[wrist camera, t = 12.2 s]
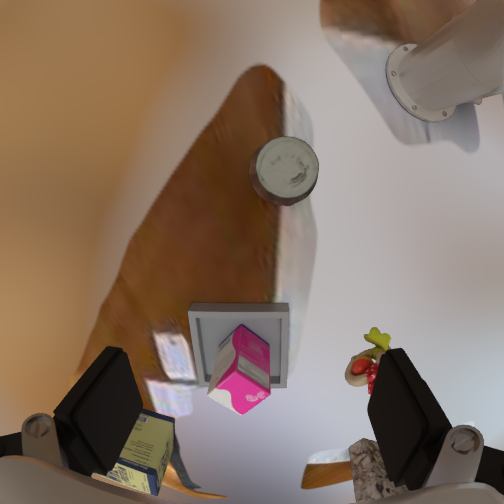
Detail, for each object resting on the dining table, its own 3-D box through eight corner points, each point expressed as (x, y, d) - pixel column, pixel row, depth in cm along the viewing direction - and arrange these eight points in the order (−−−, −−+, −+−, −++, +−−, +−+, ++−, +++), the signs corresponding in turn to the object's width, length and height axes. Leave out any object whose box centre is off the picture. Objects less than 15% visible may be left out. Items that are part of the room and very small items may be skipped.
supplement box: (247, 366, 44) (240, 417, 33) (217, 345, 43) (203, 394, 32) (271, 344, 42) (271, 395, 31) (241, 322, 42) (232, 370, 31)
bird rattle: (362, 360, 46) (405, 340, 40) (354, 413, 37) (405, 397, 32) (341, 340, 45) (386, 318, 40) (330, 396, 36) (385, 378, 31)
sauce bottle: (307, 195, 37) (345, 218, 18) (260, 202, 38) (250, 233, 19) (298, 146, 35) (329, 118, 16) (251, 153, 36) (231, 132, 17)
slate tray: (288, 302, 41) (289, 311, 39) (285, 377, 45) (286, 388, 42) (192, 302, 42) (187, 311, 40) (203, 375, 46) (199, 385, 43)
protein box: (175, 444, 53) (158, 497, 38) (113, 424, 53) (87, 470, 38) (176, 417, 50) (154, 476, 35) (107, 395, 50) (75, 445, 35)
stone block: (341, 451, 51) (354, 523, 31) (362, 434, 49) (382, 509, 29) (380, 458, 52) (397, 521, 32) (400, 442, 50) (423, 506, 30)
